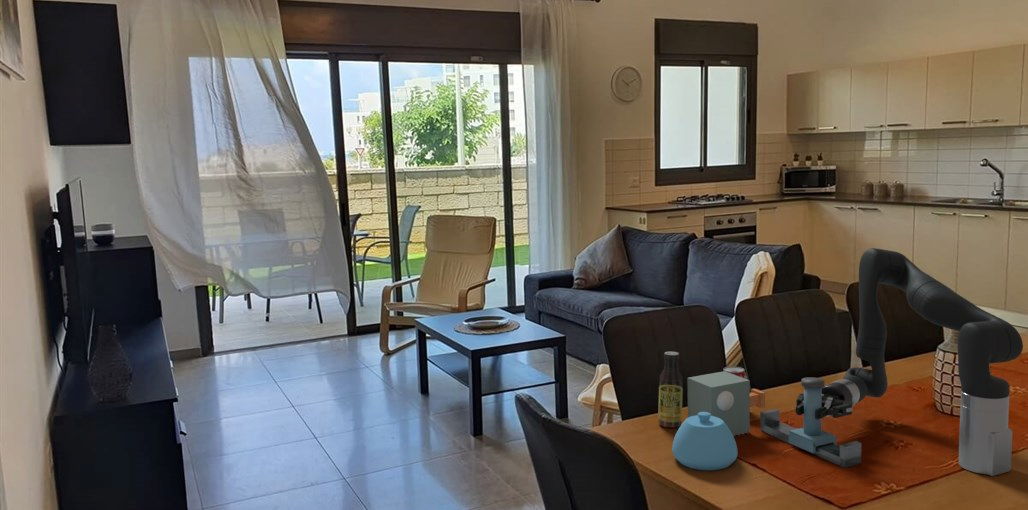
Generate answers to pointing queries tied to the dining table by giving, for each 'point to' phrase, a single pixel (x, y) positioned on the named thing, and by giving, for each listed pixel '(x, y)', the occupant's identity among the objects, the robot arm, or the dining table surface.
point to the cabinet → (721, 399)
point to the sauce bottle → (670, 392)
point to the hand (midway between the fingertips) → (807, 413)
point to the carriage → (811, 419)
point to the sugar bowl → (704, 443)
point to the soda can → (736, 371)
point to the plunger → (757, 398)
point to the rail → (836, 454)
